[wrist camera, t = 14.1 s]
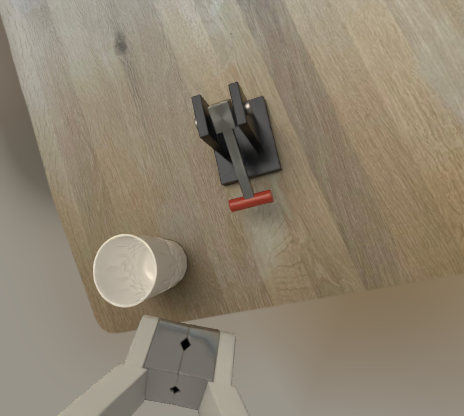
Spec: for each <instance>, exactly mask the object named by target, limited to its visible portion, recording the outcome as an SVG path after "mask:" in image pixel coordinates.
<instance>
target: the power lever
mask: <svg viewBox="0 0 464 416" xmlns="http://www.w3.org/2000/svg"><path fill="white" fill-rule="evenodd" d="M208 111H209V114H210V117H211V120H212V123H213V126H214V129H215V132H216V134H218V133H222V132H223V135H224V138H225V141H226V144H227V147H228V150H229V153H230V156H231V159H232V162H233V165H234V168H235V171H236V174H237V177H238V180H239V184H240V187H241V190H242V193H243V197H240V198H236V199H232V200H229V207H230V210H231V211H232V212H234V211H238V210H242V209H246V208H250V207H254V206H258V205H262V204H266V203H270V202H273V196H272V192H271V190H266V191H263V192H259V193H255V194H254V191H253V188H252V185H251V182H250V179H249V176H248V173H247V169H246V166H245V163H244V160H243V157H242V154H241V150H240V147H239V144H238V141H237V138H236V135H235V132H234V129H235V128H236V127H237V121H236V116H235V112H234V108H233V105H232V102H231V99H227V100H224V101H221V102H218V103H215V104H212V105H210V106H209V107H208Z"/></svg>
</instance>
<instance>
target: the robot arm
mask: <svg viewBox="0 0 464 416" xmlns="http://www.w3.org/2000/svg"><path fill="white" fill-rule="evenodd" d="M235 341H236V336H235V334H234V333H230V332H224V331H219V330H217V329H212V328H206V327H201V326H196V325H189V324H185V323H180V322H176V321H171V320H166V319H162V318H158V317H154V316H149V315H144V316H143V317H142V319H141V321H140V324H139V326H138V329H137V332H136V335H135V337H134V340H133V342H132V346H131V348H130V350H129V353H128V356H127V358H126V361H125V363H124V364H122V363H119V364H118V365H117V366H115V367H114V368H113V369H112V370H111V371H109V373H107V374H106V375H105V376H104V377H102V378H101V379H100V380H99V381H98V382H96V383H95V384H94V385H93V386H92V387H90V388H89V389H88V390H87V391H86V392H85V393H83V394H82V395H81V396H80V397H78V398H77V399H76V400H75V401H74V402H73V403H71V404H70V405H69V406H68V407H67V408H65V409H64V410H63V411H62V412H61V413H59V414H58V415H57V416H131V415H132V414H133V413H134V412H135V411H136V410H137V409H138V408H139V407H140V406H141V404H142V403H143V402H144V400H149V401H155V402H161V403H167V404H172V405H177V406H182V407H186V408H190V409H195V410H198V414H199V416H250V415H249V414H248V411H247V409H246V407H245V404H244V402H243V400H242V398H241V396H240V394H239V392H238V389H237V387H235V386H232V377H233V365H234V353H235Z"/></svg>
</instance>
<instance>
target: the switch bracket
mask: <svg viewBox="0 0 464 416" xmlns="http://www.w3.org/2000/svg"><path fill="white" fill-rule="evenodd" d="M228 86H229V90H230V95H231V99H232V103H233V108H234V112H235V116H236V121H237V127H236V128H235V129H234V132H235V135H236V138H237V141H238V144H239V147H240V150H241V154H242V157H243V160H244V163H245V166H246V169H247V173H248V176H249V179H251V178H255V177H258V176H262V175H266V174H269V173H273V172H277V171H280V170H282V169H281V165H280V161H279V157H278V152H277V148H276V144H275V140H274V136H273V132H272V128H271V124H270V120H269V116H268V112H267V108H266V103H265V99H264V97H263V96H261V97H258V98H254V99H251V100H248V101H247V99H246V97H245V95H244V93H243V91H242V89H241V87H240V85H239V83H238V82H235V83H232V84H229V85H228ZM191 98H192V103H193V108H194V112H195V117H196V118H195V125H196V127H197V129H198V131H199V136H200V138H201V139H202V140H203V141H205V142H206V143H207V144H208V145H209V146H211V147H212V148H213V149H214V152H215V157H216V161H217V166H218V171H219V175H220V180H221V184H222V185H224V186H225V185H229V184H233V183H236V182H239V180H238V177H237V174H236V171H235V168H234V165H233V162H232V159H231V156H230V153H229V150H228V147H227V144H226V141H225V138H224V135H223V132H222V133H218V134H216V132H215V129H214V126H213V123H212V120H211V117H210V114H209V111H208V107H209V105H208V103H207V102H206V101H205V100H204V99H203V97H202V96H201V95H197V96H194V97H191Z"/></svg>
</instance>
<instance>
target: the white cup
mask: <svg viewBox="0 0 464 416" xmlns="http://www.w3.org/2000/svg"><path fill="white" fill-rule="evenodd" d="M186 270H187V257H186V255H185V253H184V251H183V249H182V247H181V246H180V245H178V244H177V243H176V242H175V241H173V240H168V239H162V238H158V237H151V236H142V235H131V234H121V235H117V236H114V237H112V238H110V239H109V240H107V241H106V242H105V243H104V244H103V245H102V246H101V247H100V249H99V250H98V252H97V254H96V257H95V260H94V265H93V277H94V282H95V285H96V288H97V290H98V291H99V293H100V294H101V296H102V297H103V298H104V299H105V300H106V301H108V302H109V303H111V304H112V305H115V306H118V307H132V306H135V305H137V304H139V303H142V302H144V301H146V300H148V299H150V298H152V297H155V296H157V295H159V294H160V293H162V292H165V291H166V290H168V289H169V288H171V287H174V286H175V285H176V284H177V283H179V282H180V281H181V280H182V279H183V277H184V275H185V272H186Z"/></svg>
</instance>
